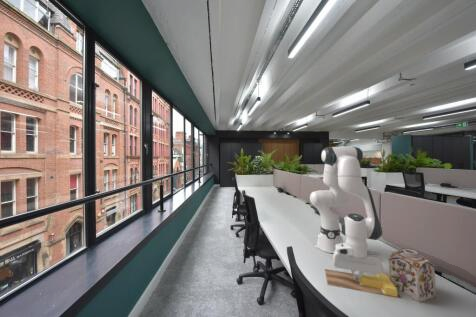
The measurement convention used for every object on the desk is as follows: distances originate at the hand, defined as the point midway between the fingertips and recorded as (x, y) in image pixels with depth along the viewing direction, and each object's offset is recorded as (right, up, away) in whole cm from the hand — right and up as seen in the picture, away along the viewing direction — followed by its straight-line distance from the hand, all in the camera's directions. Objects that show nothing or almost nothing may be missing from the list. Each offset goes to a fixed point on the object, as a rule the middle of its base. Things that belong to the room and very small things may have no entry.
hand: (357, 279), depth 91 cm
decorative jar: (+21, -3, -5) cm, 22 cm away
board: (+1, -2, 0) cm, 2 cm away
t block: (+7, -1, -3) cm, 7 cm away
